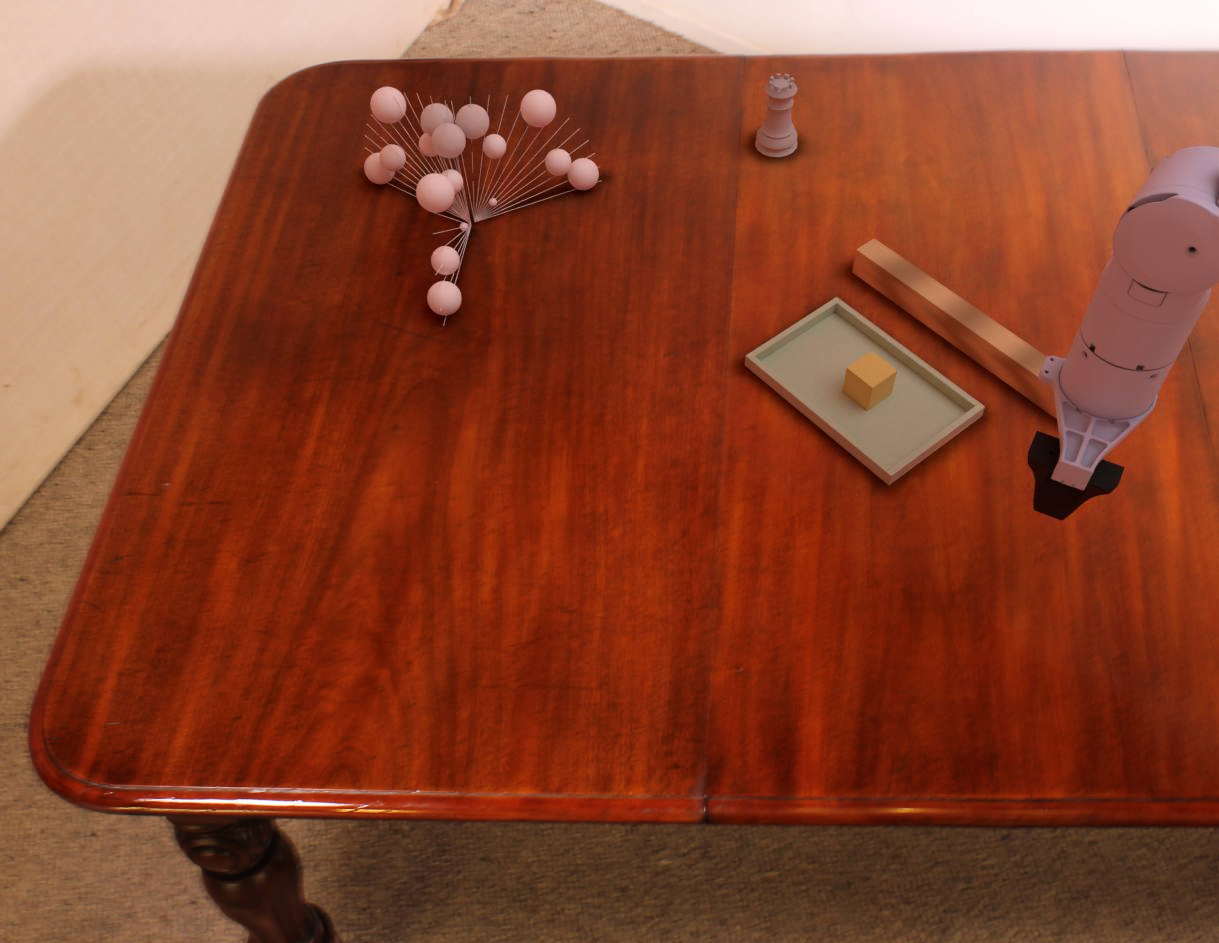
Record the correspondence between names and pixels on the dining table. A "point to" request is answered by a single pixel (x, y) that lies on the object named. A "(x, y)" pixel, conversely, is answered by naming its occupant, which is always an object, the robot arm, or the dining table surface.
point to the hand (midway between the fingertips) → (1064, 471)
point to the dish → (879, 438)
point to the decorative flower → (450, 143)
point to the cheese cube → (869, 380)
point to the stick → (955, 321)
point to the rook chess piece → (778, 119)
